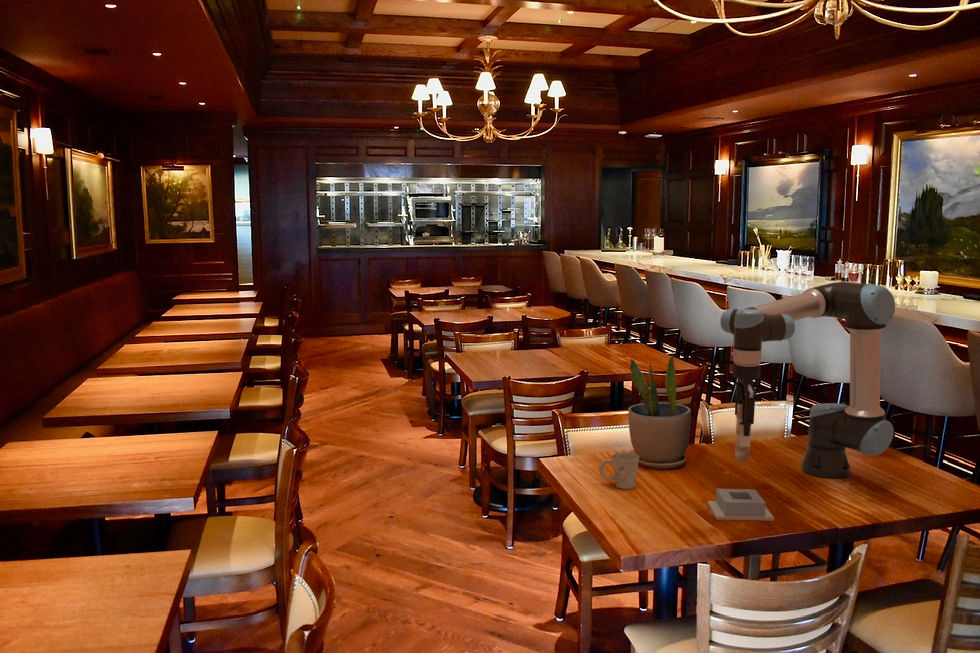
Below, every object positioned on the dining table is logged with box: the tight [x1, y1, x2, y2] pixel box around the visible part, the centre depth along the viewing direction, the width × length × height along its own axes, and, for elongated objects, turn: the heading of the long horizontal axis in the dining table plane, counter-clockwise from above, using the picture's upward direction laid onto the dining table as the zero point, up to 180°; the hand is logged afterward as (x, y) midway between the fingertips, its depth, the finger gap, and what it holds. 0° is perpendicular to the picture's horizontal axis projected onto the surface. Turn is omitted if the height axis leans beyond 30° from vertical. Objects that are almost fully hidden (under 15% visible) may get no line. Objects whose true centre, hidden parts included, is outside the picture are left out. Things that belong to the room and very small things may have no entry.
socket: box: [707, 488, 775, 522], centre depth 231 cm, size 16×12×5 cm
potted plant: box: [627, 354, 692, 470], centre depth 274 cm, size 21×22×40 cm
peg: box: [734, 404, 751, 462], centre depth 228 cm, size 4×4×16 cm
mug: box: [598, 451, 639, 490], centre depth 253 cm, size 8×13×10 cm, turn 78°
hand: (742, 443), depth 228 cm, fingers closed on peg, 4 cm apart
